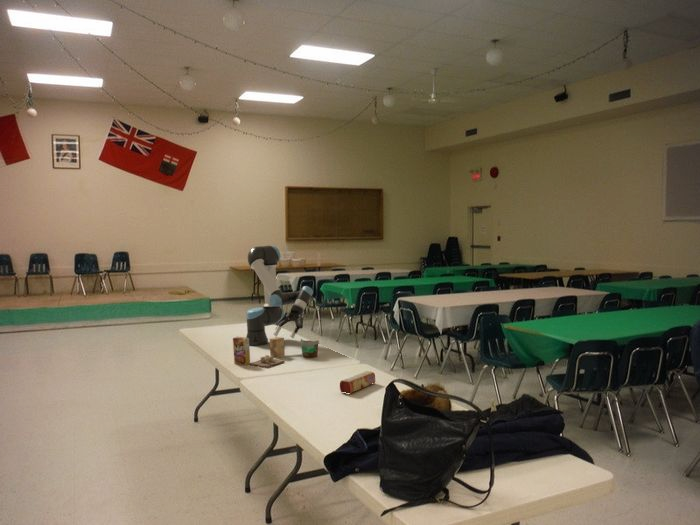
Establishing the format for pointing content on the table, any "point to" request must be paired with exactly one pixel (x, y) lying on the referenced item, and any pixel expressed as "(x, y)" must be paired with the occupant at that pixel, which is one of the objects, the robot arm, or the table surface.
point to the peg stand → (267, 362)
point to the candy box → (241, 350)
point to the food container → (309, 348)
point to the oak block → (277, 347)
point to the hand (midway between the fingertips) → (283, 336)
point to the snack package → (357, 382)
